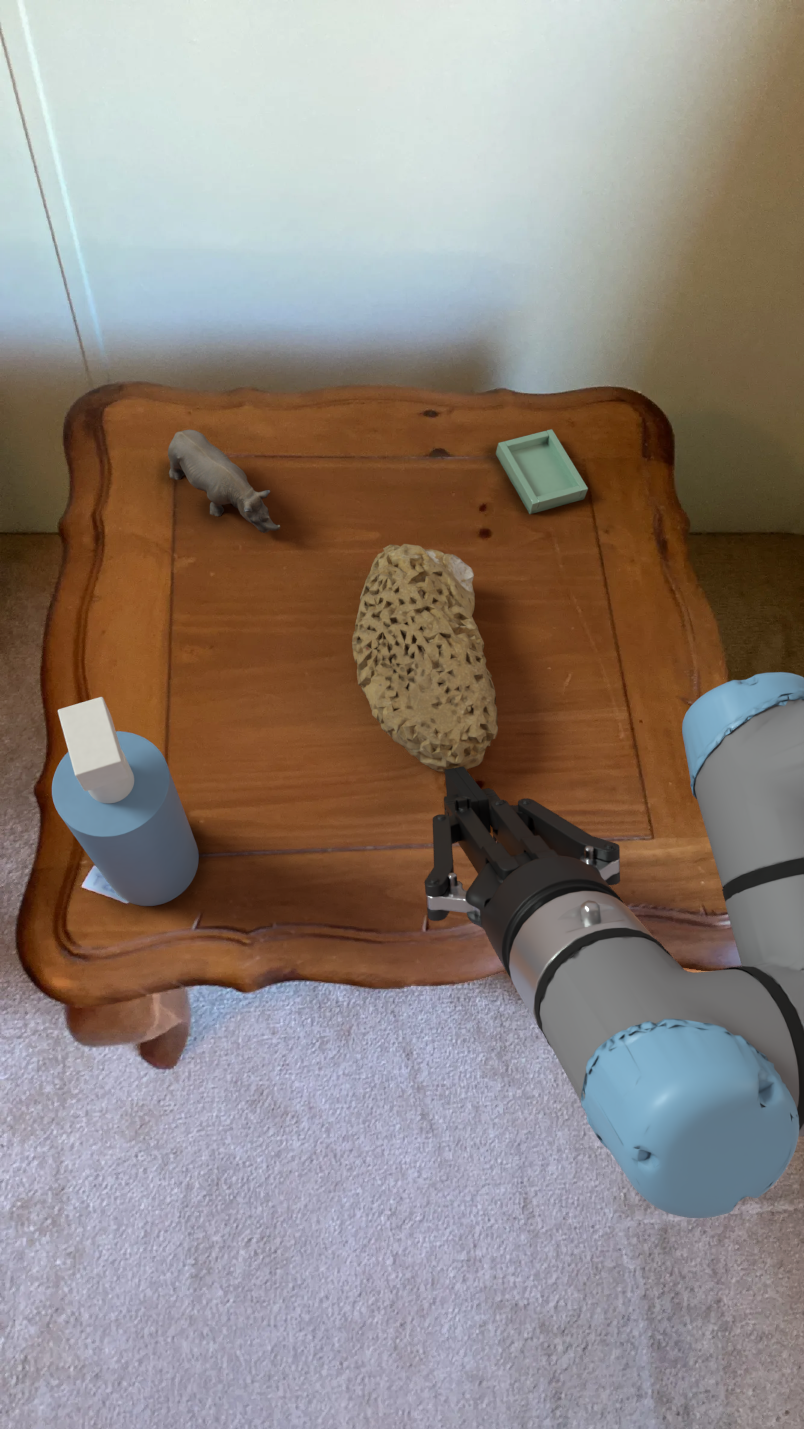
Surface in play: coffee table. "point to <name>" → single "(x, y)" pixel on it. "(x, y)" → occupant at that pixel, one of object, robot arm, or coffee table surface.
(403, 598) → the sponge
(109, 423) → the coffee table surface
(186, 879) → the spray bottle
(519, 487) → the soap dish
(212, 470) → the rhino figurine
